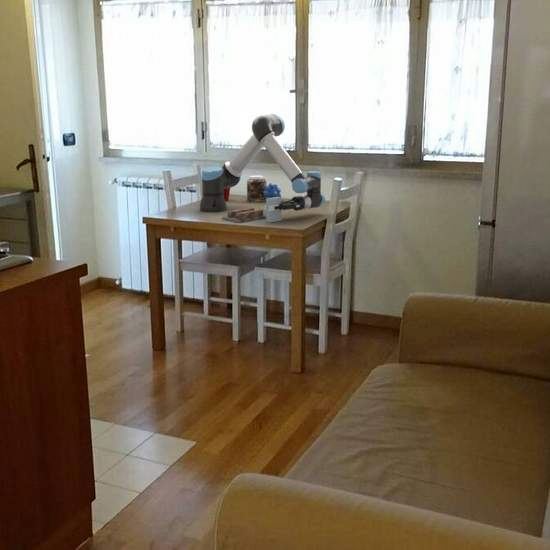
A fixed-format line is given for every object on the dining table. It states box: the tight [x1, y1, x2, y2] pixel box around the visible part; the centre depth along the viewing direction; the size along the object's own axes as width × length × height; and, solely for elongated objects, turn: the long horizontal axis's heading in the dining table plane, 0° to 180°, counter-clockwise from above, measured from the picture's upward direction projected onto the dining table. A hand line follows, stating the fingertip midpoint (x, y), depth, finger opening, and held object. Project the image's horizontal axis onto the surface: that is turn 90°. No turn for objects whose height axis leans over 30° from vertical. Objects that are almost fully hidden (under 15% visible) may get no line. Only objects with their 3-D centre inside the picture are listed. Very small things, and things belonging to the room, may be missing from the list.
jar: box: [246, 174, 267, 203], centre depth 427 cm, size 12×12×15 cm
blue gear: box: [264, 182, 282, 199], centre depth 419 cm, size 12×7×12 cm, turn 120°
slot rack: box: [221, 207, 266, 224], centre depth 374 cm, size 20×14×4 cm
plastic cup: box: [223, 188, 231, 202], centre depth 431 cm, size 11×11×12 cm
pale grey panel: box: [265, 196, 282, 223], centre depth 365 cm, size 8×2×12 cm, turn 132°
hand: (267, 208), depth 362 cm, fingers closed on pale grey panel, 2 cm apart
